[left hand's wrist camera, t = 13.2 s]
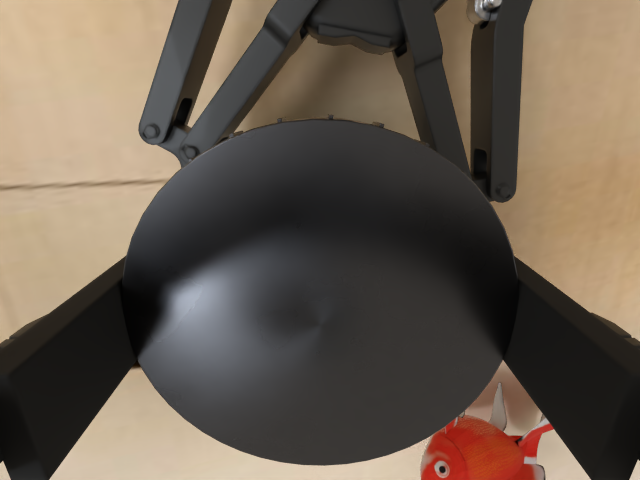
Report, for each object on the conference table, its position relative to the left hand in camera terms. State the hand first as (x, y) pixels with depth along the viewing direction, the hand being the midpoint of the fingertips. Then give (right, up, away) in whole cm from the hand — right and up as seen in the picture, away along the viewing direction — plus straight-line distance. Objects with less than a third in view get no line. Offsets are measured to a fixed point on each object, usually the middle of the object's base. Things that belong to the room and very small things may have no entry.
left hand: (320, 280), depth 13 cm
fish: (+15, -12, +18) cm, 27 cm away
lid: (0, -1, -2) cm, 3 cm away
